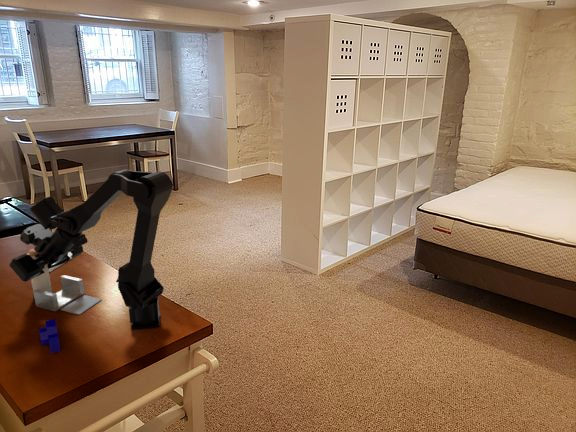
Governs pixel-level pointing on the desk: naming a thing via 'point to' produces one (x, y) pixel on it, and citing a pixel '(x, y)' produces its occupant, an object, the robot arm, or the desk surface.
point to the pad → (81, 304)
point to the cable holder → (50, 336)
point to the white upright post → (40, 277)
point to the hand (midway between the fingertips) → (35, 272)
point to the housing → (60, 294)
